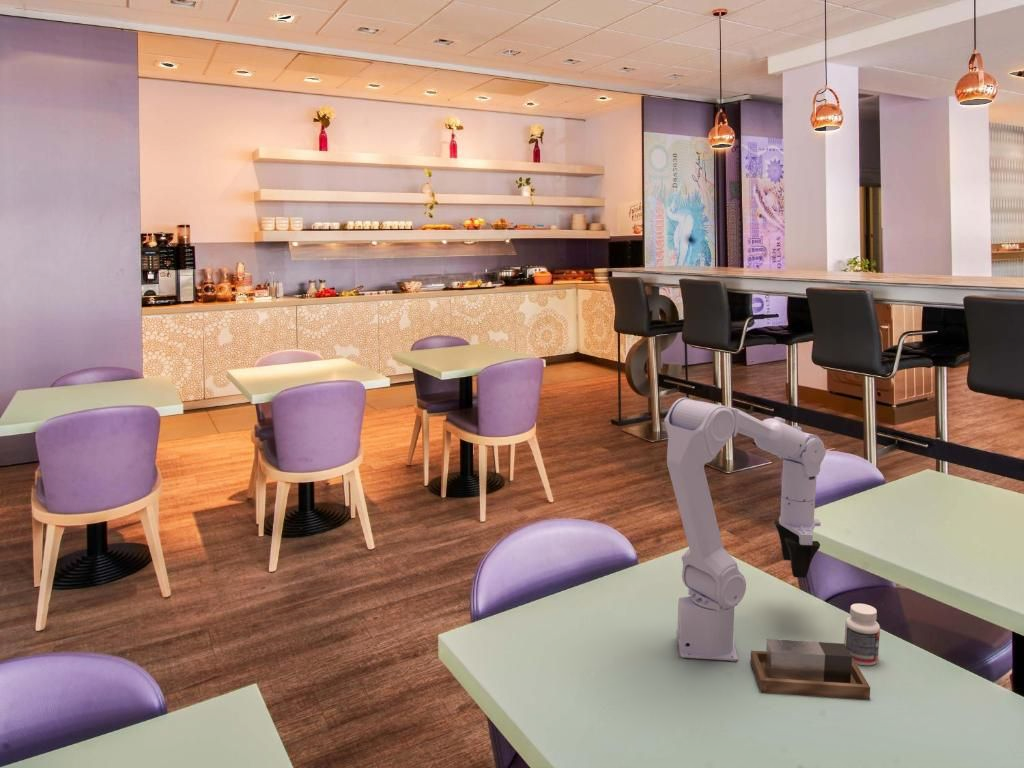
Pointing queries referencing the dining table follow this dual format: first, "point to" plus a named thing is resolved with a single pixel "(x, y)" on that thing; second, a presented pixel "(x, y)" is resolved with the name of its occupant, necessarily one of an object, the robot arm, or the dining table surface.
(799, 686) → the walnut tray
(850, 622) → the pill bottle
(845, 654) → the low gray brick
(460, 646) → the dining table surface
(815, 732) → the dining table surface
